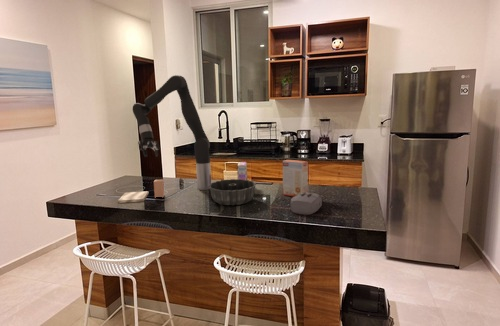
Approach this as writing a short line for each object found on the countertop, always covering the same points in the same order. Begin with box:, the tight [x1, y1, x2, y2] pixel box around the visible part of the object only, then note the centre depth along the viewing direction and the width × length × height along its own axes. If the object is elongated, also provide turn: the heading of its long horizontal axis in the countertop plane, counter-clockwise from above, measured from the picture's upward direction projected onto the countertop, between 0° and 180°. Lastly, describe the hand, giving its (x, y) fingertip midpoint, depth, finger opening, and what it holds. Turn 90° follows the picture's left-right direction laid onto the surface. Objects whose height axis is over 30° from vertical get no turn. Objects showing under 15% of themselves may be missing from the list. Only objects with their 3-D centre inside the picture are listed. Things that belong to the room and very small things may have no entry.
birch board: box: [117, 190, 149, 204], centre depth 191 cm, size 14×18×2 cm
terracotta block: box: [153, 179, 165, 199], centre depth 192 cm, size 5×5×10 cm
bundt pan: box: [209, 178, 257, 206], centre depth 179 cm, size 26×26×10 cm
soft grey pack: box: [289, 192, 323, 216], centre depth 162 cm, size 15×8×20 cm
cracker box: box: [282, 159, 309, 198], centre depth 186 cm, size 14×6×21 cm, turn 47°
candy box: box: [236, 161, 248, 180], centre depth 208 cm, size 14×6×16 cm, turn 179°
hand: (151, 156), depth 203 cm, fingers open, 8 cm apart
